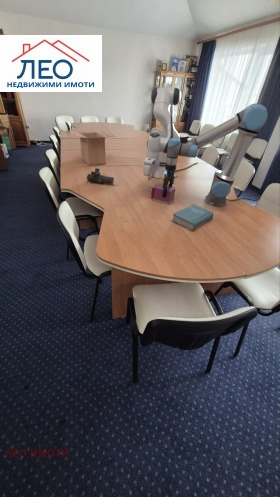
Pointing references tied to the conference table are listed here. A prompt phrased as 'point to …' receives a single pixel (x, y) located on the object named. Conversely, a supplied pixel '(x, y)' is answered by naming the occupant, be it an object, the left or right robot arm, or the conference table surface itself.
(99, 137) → the box
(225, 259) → the conference table surface
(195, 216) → the book
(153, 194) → the drawer
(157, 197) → the cabinet
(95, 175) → the laser sight
